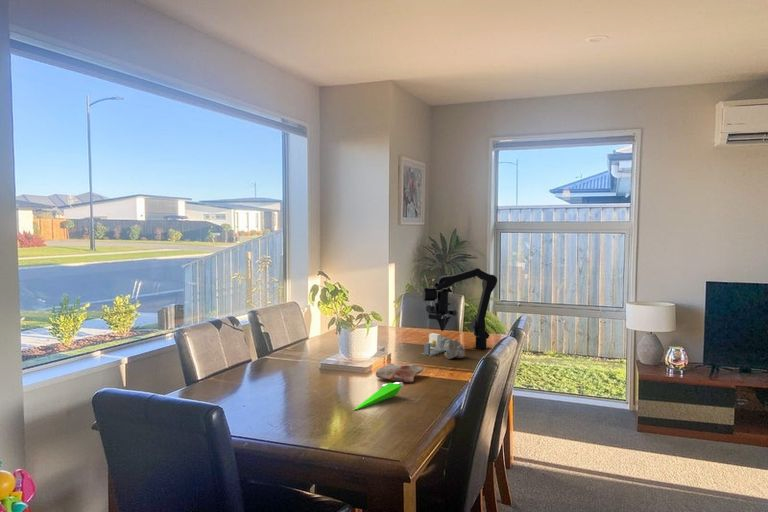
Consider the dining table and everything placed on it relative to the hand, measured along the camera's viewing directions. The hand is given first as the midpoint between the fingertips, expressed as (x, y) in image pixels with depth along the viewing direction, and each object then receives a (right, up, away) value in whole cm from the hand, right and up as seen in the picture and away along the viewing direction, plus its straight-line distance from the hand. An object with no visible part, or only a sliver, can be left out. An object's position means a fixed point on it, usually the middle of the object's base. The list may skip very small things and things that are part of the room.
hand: (442, 330), depth 292 cm
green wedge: (-32, -16, -84) cm, 91 cm away
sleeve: (-4, -8, -5) cm, 11 cm away
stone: (-24, -14, -54) cm, 60 cm away
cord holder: (-3, -10, -4) cm, 11 cm away
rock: (+4, -11, -17) cm, 21 cm away
